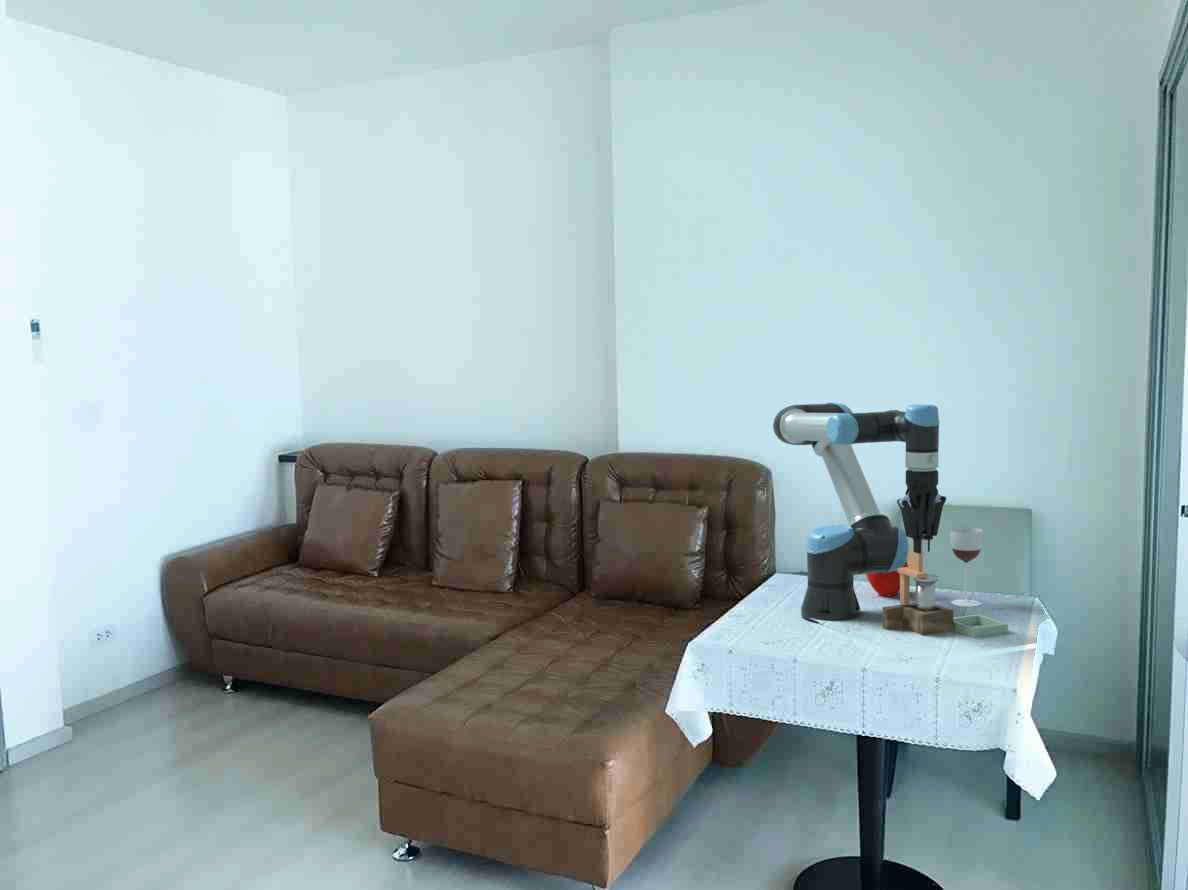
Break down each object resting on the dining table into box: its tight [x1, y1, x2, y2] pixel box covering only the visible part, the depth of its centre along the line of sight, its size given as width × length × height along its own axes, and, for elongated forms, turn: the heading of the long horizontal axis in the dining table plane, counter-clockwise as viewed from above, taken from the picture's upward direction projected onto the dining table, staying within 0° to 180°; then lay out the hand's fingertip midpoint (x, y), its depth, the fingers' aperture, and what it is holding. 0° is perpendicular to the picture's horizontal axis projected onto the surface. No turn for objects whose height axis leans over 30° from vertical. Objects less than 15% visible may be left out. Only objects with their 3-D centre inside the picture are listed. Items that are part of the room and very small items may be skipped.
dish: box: [953, 613, 1009, 639], centre depth 236 cm, size 10×10×3 cm
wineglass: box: [950, 526, 984, 607], centre depth 263 cm, size 8×9×20 cm
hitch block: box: [882, 602, 954, 636], centre depth 237 cm, size 9×14×6 cm, turn 110°
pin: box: [913, 573, 939, 612], centre depth 237 cm, size 6×6×13 cm
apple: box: [865, 559, 908, 597], centre depth 275 cm, size 12×12×13 cm
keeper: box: [898, 550, 929, 605], centre depth 236 cm, size 7×3×13 cm, turn 20°
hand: (921, 565), depth 236 cm, fingers closed
